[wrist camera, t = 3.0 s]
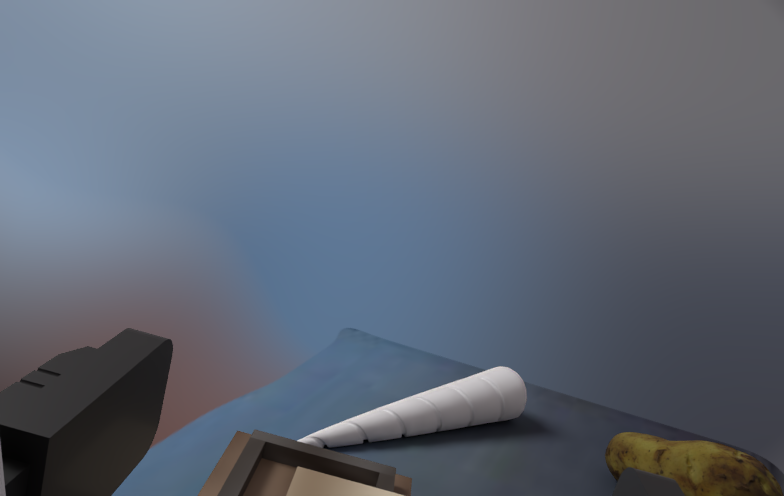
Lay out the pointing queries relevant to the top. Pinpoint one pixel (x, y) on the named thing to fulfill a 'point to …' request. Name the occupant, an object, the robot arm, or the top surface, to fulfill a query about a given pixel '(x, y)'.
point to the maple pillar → (329, 486)
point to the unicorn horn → (433, 410)
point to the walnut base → (290, 467)
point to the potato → (692, 465)
